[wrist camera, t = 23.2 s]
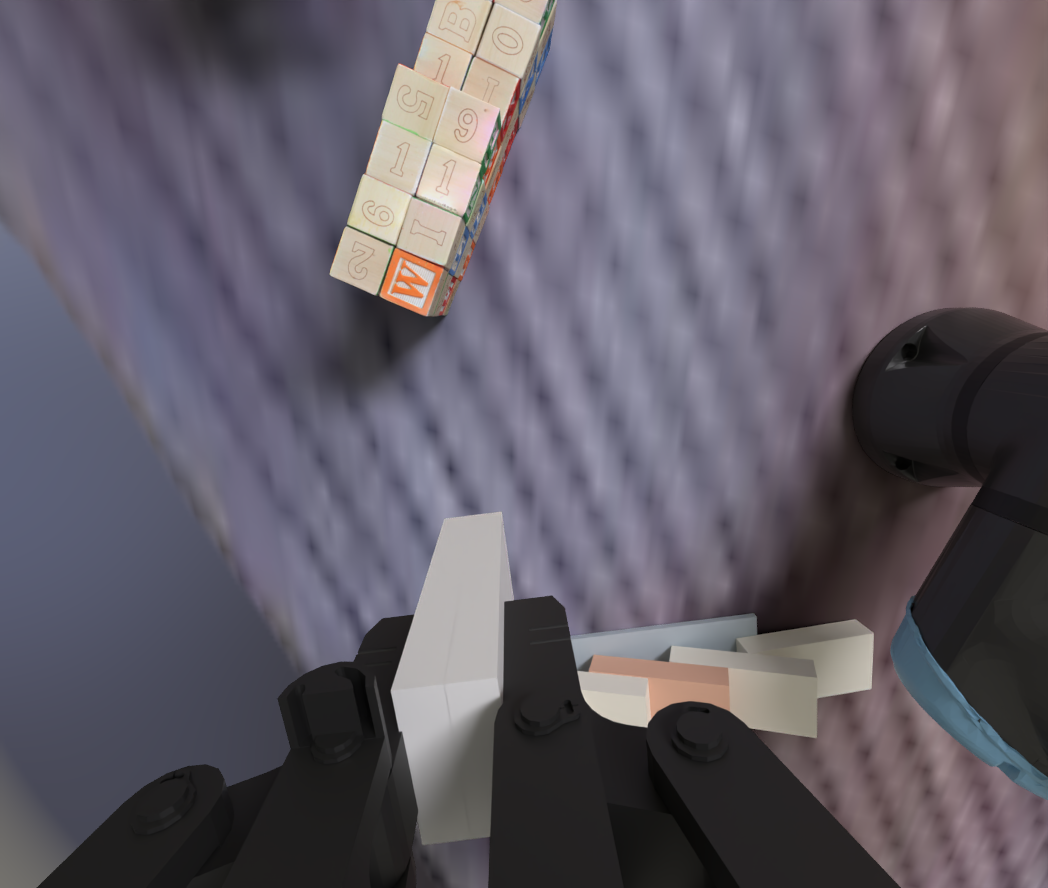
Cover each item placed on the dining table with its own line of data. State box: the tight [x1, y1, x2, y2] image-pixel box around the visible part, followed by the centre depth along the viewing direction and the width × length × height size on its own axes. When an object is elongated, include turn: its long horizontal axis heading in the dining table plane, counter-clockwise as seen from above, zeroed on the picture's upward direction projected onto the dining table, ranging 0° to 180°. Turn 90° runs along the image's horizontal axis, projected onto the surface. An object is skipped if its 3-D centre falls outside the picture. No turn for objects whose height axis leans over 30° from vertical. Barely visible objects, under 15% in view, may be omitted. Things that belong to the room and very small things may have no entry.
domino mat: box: [570, 613, 757, 672], centre depth 52 cm, size 35×10×1 cm, turn 97°
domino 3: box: [669, 646, 817, 738], centre depth 48 cm, size 2×6×12 cm
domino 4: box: [736, 619, 874, 698], centre depth 51 cm, size 2×6×12 cm
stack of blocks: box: [330, 0, 557, 317], centre depth 36 cm, size 21×6×12 cm, turn 157°
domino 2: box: [589, 655, 730, 719], centre depth 49 cm, size 2×6×12 cm
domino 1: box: [577, 671, 651, 727], centre depth 49 cm, size 2×6×12 cm
